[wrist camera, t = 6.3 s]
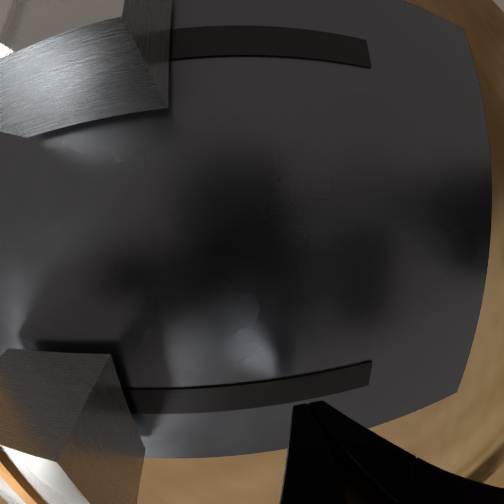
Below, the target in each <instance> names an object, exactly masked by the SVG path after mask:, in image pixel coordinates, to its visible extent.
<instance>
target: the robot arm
mask: <svg viewBox="0 0 504 504" xmlns="http://www.w3.org/2000/svg"><path fill="white" fill-rule="evenodd" d="M280 504H504V488H500V487H495V486H491V485H487V484H484V483H480V482H477V481H474V480H470V479H467V478H464V477H461V476H458V475H455V474H453V473H450V472H447V471H445V470H443V469H440V468H438V467H436V466H434V465H432V464H430V463H428V462H426V461H424V460H422V459H420V458H416V456H414V455H412V454H411V453H409V452H407V451H405V450H403V449H402V448H400V447H398V446H396V445H394V444H393V443H391V442H389V441H387V440H386V439H384V438H382V437H381V436H379V435H377V434H376V433H374V432H372V431H370V430H369V429H367V428H366V427H364V426H362V425H361V424H359V423H357V422H356V421H354V420H353V419H351V418H349V417H348V416H346V415H345V414H343V413H342V412H340V411H338V410H337V409H335V408H334V407H332V406H331V405H329V404H328V403H326V402H325V401H322V400H320V401H315V402H310V403H309V404H306V403H304V404H299V405H294V406H293V408H292V417H291V425H290V434H289V442H288V450H287V458H286V465H285V472H284V479H283V486H282V492H281V500H280Z"/></svg>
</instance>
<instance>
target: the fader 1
mask: <svg viewBox="0 0 504 504" xmlns="http://www.w3.org/2000/svg"><path fill="white" fill-rule="evenodd" d="M171 10H172V0H0V132H5V133H9V134H13V135H17V136H21V137H26V138H29V137H32V136H35V135H38V134H41V133H45V132H48V131H52V130H55V129H59V128H63V127H67V126H71V125H75V124H79V123H83V122H87V121H92V120H97V119H101V118H106V117H112V116H117V115H123V114H128V113H135V112H141V111H148V110H156V109H163V108H168V80H169V44H170V25H171Z"/></svg>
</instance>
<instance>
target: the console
mask: <svg viewBox="0 0 504 504" xmlns="http://www.w3.org/2000/svg"><path fill="white" fill-rule="evenodd" d="M491 213H492V183H491V162H490V149H489V139H488V131H487V123H486V117H485V110H484V105H483V99H482V94H481V89H480V85H479V80H478V76H477V72H476V68H475V64H474V61H473V57H472V53H471V50H470V47H469V44H468V40H467V37H466V34H465V32H464V29H463V28H461V27H459V26H457V25H455V24H453V23H451V22H449V21H447V20H445V19H443V18H441V17H439V16H437V15H435V14H433V13H430V12H428V11H426V10H424V9H421V8H419V7H416V6H414V5H411V4H409V3H406V2H404V1H401V0H172V10H171V25H170V44H169V80H168V108H163V109H156V110H148V111H141V112H135V113H128V114H123V115H117V116H112V117H106V118H101V119H97V120H92V121H87V122H83V123H79V124H75V125H71V126H67V127H63V128H59V129H55V130H52V131H48V132H45V133H41V134H38V135H35V136H32V137H29V138H26V137H21V136H17V135H13V134H9V133H5V132H0V355H2V354H3V353H4V352H5V351H6V350H7V349H8V348H12V349H22V350H33V351H46V352H62V353H87V354H111V356H112V359H113V363H114V366H115V369H116V372H117V376H118V379H119V382H120V385H121V388H122V391H123V394H124V396H125V399H126V402H127V405H128V407H129V410H130V413H131V415H132V418H133V420H134V423H135V425H136V428H137V430H138V433H139V435H140V437H141V440H142V442H143V444H144V447H145V449H146V450H145V456H144V457H147V458H206V457H222V456H234V455H244V454H253V453H260V452H267V451H274V450H280V449H286V448H288V442H289V434H290V425H291V417H292V408H293V406H294V405H299V404H304V403H306V404H309V403H310V402H315V401H320V400H322V401H325V402H326V403H328V404H329V405H331V406H332V407H334V408H335V409H337V410H338V411H340V412H342V413H343V414H345V415H346V416H348V417H349V418H351V419H353V420H354V421H356V422H357V423H359V424H361V425H362V426H364V427H366V428H367V429H368V428H371V427H374V426H377V425H380V424H383V423H385V422H388V421H391V420H394V419H397V418H399V417H402V416H404V415H407V414H409V413H412V412H414V411H417V410H419V409H422V408H424V407H426V406H429V405H431V404H433V403H435V402H437V401H440V400H442V399H444V398H446V397H448V396H450V395H452V394H454V393H456V392H457V390H458V387H459V385H460V382H461V379H462V376H463V373H464V370H465V367H466V364H467V360H468V357H469V354H470V350H471V347H472V343H473V339H474V335H475V331H476V327H477V323H478V319H479V314H480V309H481V304H482V299H483V293H484V287H485V281H486V274H487V266H488V258H489V247H490V235H491Z"/></svg>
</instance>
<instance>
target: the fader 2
mask: <svg viewBox="0 0 504 504" xmlns="http://www.w3.org/2000/svg"><path fill="white" fill-rule="evenodd" d="M145 450H146V449H145V447H144V444H143V442H142V440H141V437H140V435H139V433H138V430H137V428H136V425H135V423H134V420H133V418H132V415H131V413H130V410H129V407H128V405H127V402H126V399H125V396H124V394H123V391H122V388H121V385H120V382H119V379H118V376H117V372H116V369H115V366H114V363H113V359H112V356H111V354H87V353H62V352H46V351H33V350H22V349H12V348H8V349H7V350H6V351H5V352H4V353H3V354H2V355H0V495H1V496H2V497H3V498H4V499H5V500H6V501H7V502H8V503H9V504H137V498H138V492H139V485H140V479H141V473H142V467H143V461H144V456H145Z"/></svg>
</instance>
